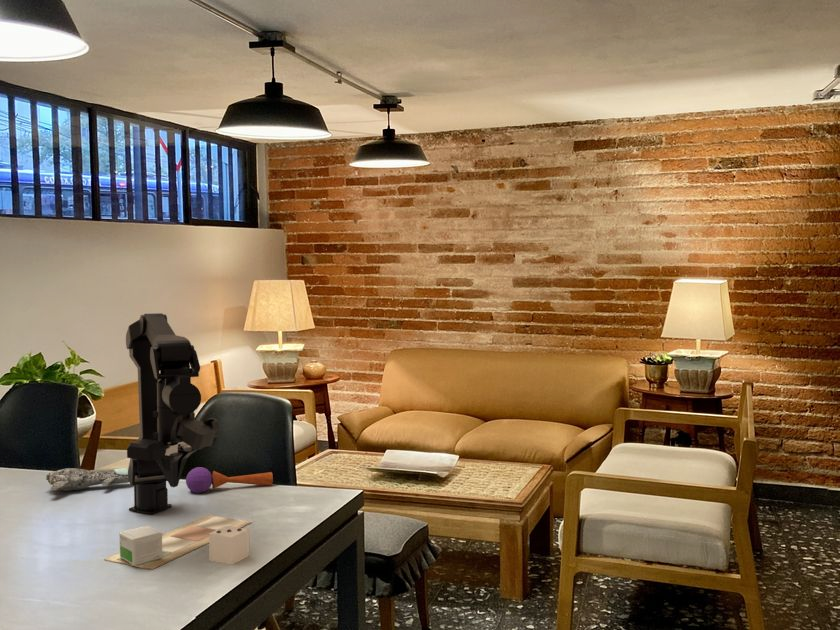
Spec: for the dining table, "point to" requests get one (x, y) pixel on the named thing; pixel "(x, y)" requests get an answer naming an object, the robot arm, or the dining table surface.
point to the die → (229, 544)
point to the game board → (185, 539)
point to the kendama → (222, 479)
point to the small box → (140, 545)
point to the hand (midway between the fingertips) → (174, 486)
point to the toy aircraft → (85, 478)
